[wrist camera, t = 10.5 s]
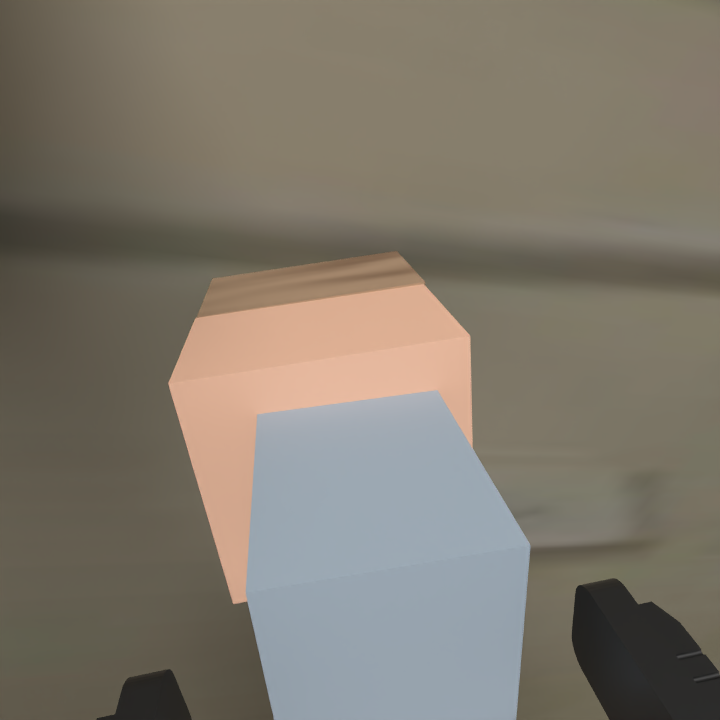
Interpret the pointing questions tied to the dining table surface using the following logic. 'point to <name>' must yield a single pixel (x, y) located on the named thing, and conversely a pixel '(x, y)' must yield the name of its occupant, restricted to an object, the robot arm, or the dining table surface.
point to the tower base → (308, 283)
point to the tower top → (303, 384)
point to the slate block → (383, 566)
